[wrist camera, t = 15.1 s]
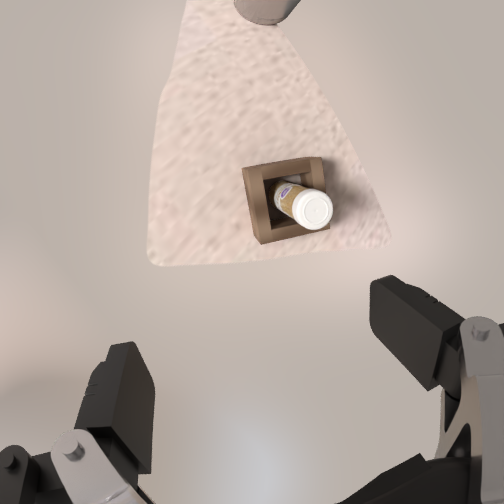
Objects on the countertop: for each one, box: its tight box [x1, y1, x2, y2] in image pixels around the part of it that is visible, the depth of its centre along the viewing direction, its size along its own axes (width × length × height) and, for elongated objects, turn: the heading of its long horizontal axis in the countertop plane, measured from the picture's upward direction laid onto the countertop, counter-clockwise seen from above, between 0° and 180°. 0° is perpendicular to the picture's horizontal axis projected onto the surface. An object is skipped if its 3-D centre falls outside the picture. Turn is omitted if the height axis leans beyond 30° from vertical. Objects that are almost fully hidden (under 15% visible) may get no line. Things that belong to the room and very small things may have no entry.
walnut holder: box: [242, 157, 330, 245], centre depth 43 cm, size 10×10×5 cm
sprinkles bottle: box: [269, 181, 333, 230], centre depth 39 cm, size 5×5×14 cm
